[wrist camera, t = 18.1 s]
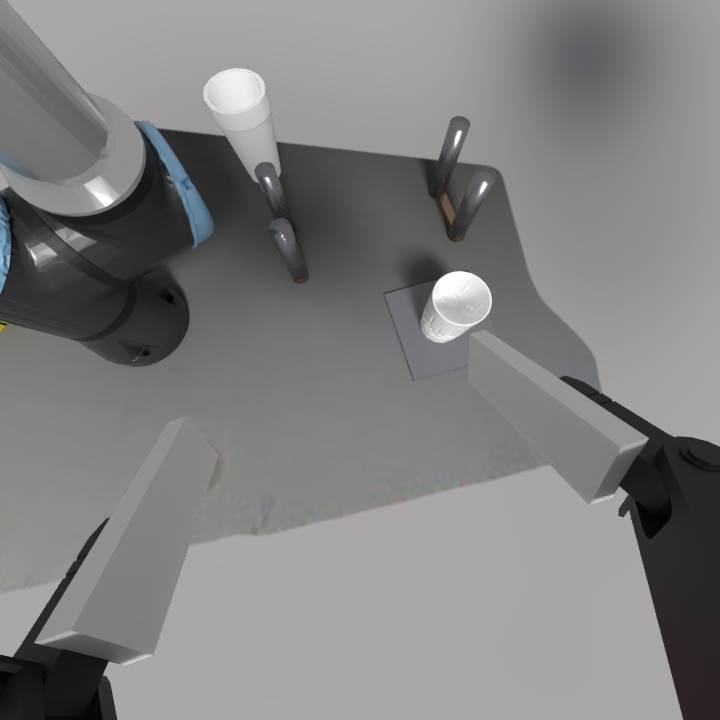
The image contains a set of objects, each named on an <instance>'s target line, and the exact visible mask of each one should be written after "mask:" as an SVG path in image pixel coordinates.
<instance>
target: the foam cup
mask: <svg viewBox="0 0 720 720" xmlns="http://www.w3.org/2000/svg"><path fill="white" fill-rule="evenodd" d="M203 98H204V100H205V102H206V105H207V107H208V109H209V111H210V113H211V115H212V117H213V118H214V120H215V121H216V123H217V124H218V125H219V126H220V127H221V129H222V131H223V132H224V134H225V136H226V137H227V139H228V140H229V142H230V144H231V145H232V147H233V149H234V150H235V152H236V153H237V155H238V157H239V158H240V160H241V162H242V163H243V165H244V167H245V168H246V170H247V171H248V173H249V175H250V176H251V178H252V179H253V180H254V181H255V182H257V183H259V182H258V180H257V177H256V175H255V172H254V170H255V167H256V166H257V165H258V164H259V163H262V162H270V163H272V164H273V165H274V167H275V169H276V172H277V175H278V177H279V175H280V173H281V167H280V161H279V155H278V150H277V144H276V139H275V134H274V128H273V123H272V117H271V112H270V100H269V97H268V93H267V90H266V86H265V83H264V82H263V80H262V79H261V78H260V76H259V75H258V74H256V73H254V72H252V71H250V70H248V69H237V68H233V69H229V70H225V71H221V72H219V73H218V74H216V75H215V76H213V77H212V78H210V80H209V81H208V83H207V84H206V86H205V87H204V97H203Z"/></svg>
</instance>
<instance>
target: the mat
mask: <svg viewBox="0 0 720 720" xmlns="http://www.w3.org/2000/svg"><path fill="white" fill-rule="evenodd" d="M466 272H468V273H470V272H469V271H466ZM438 280H439V279H437V280H434V281H430V282H426V283H423V284H419V285H416V286H412V287H408V288H405V289H401V290H397V291H394V292H390V293H387V294H384V296H385V299H386V302H387V305H388V308H389V311H390V314H391V317H392V320H393V322H394V325H395V328H396V331H397V334H398V337H399V340H400V343H401V346H402V348H403V351H404V354H405V357H406V360H407V363H408V366H409V369H410V372H411V375H412V377H413V380H414V381H415V380H419V379H422V378H425V377H429V376H432V375H435V374H439V373H442V372H445V371H449V370H452V369H455V368H459V367H462V366H465V365H469V335H470V334H471V333H475V332H478V331H482V330H486V331H488V332H489V333H491V334H492V335H494V336H495V337H497V338H498V336H497V334H496V331H495V329H494V327H493V325H492V322H491V320H490V318H489V315H487V316H486V317H485V318H484V319H483V320H482V321H480V322H479V323H477V324H476V325H474V326H473V327H472V328H470V329H469V330H467V331H466V332H464V333H463V334H461V335H460V336H458V337H456V338H454V339H453V340H451V341H448V342H445V343H438V342H433V341H432V340H430V339H428V338H427V337H426V336H425V335H424V333H423V332H422V330H421V325H420V320H421V317H422V314H423V311H424V308H425V306H426V304H427V301H428V299H429V297H430V295H431V292H432V290H433V288H434V286H435V284H436V283H437V281H438ZM498 339H499V338H498Z"/></svg>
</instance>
